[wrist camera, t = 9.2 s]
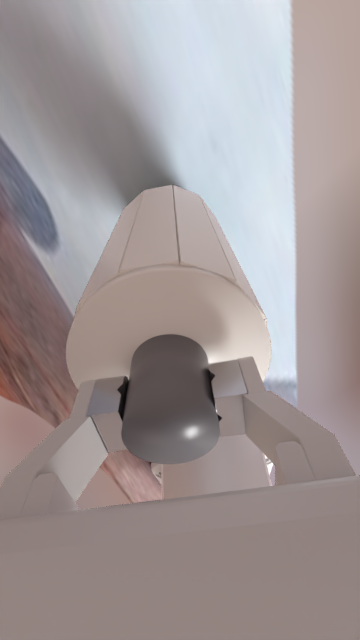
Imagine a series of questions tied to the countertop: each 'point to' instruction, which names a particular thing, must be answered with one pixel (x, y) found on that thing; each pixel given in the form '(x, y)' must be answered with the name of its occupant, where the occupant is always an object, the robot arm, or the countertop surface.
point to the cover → (166, 322)
